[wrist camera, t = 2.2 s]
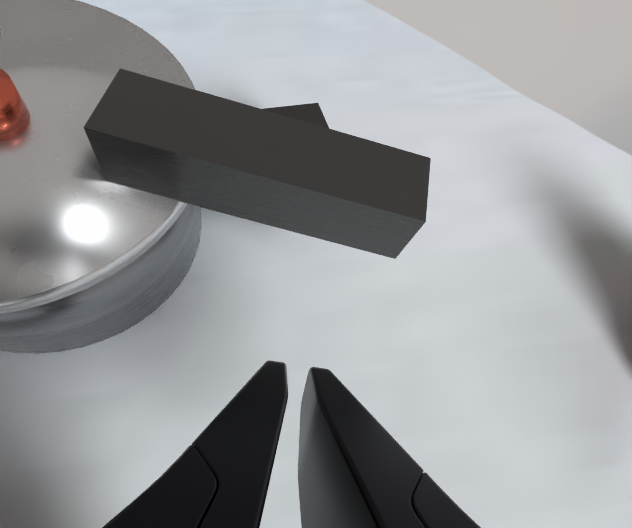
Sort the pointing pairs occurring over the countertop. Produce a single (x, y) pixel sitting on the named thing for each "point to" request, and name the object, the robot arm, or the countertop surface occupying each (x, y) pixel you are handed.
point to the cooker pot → (120, 285)
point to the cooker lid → (160, 157)
